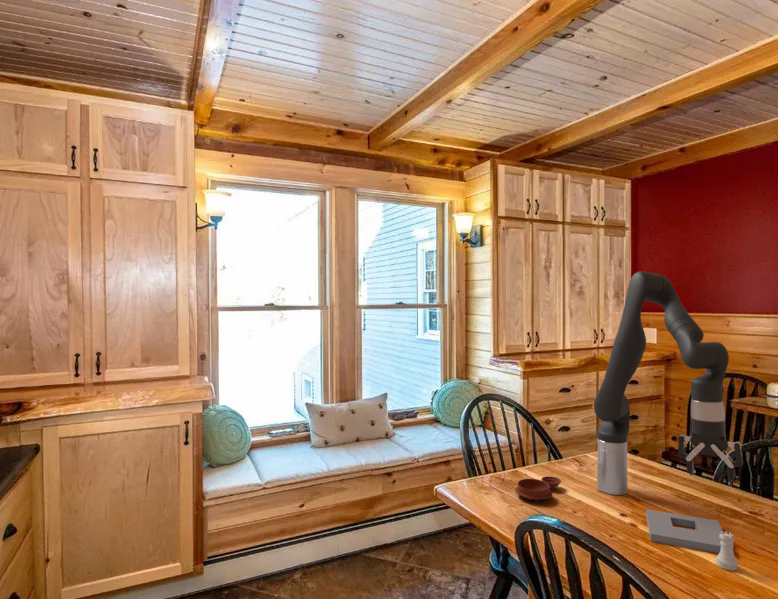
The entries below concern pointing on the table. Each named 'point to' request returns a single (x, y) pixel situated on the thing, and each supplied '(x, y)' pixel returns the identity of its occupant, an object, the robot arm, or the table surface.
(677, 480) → the table surface
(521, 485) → the pottery
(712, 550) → the socket dock
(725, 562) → the rook chess piece
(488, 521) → the table surface
